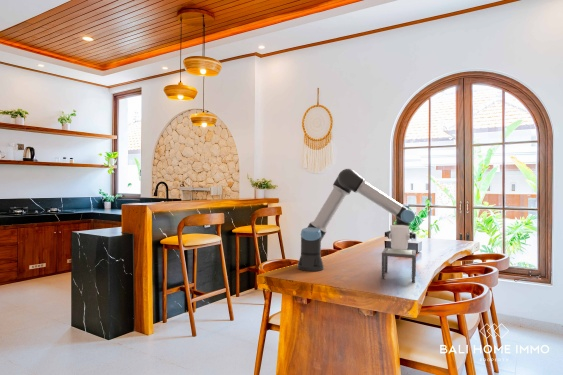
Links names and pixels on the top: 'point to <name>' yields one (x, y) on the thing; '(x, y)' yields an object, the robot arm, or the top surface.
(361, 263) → the top surface
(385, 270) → the stand
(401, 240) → the candle holder
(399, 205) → the robot arm
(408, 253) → the trapdoor
